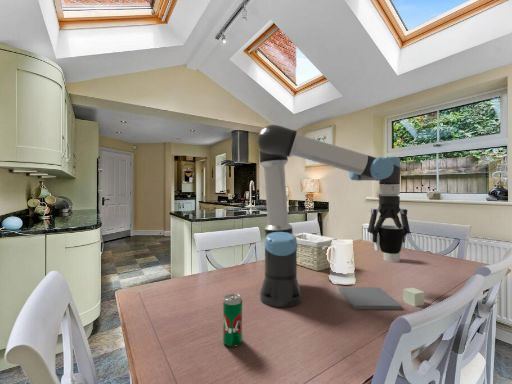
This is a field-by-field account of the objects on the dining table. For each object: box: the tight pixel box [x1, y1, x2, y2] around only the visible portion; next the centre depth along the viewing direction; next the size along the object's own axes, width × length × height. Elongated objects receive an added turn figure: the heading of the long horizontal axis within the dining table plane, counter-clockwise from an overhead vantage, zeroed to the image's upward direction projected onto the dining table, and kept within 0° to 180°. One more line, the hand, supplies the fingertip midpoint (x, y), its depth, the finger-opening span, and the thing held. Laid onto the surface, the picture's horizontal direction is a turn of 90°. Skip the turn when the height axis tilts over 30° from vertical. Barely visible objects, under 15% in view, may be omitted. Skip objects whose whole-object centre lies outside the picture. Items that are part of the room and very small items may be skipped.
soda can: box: [222, 293, 243, 347], centre depth 68 cm, size 5×5×12 cm
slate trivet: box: [338, 286, 403, 310], centre depth 95 cm, size 16×16×1 cm
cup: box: [382, 251, 401, 263], centre depth 145 cm, size 8×8×12 cm
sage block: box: [402, 287, 425, 307], centre depth 91 cm, size 4×4×4 cm
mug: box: [378, 224, 403, 254], centre depth 105 cm, size 12×9×10 cm
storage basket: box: [293, 232, 338, 271], centre depth 137 cm, size 24×16×15 cm
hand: (388, 250), depth 105 cm, fingers closed on mug, 9 cm apart
